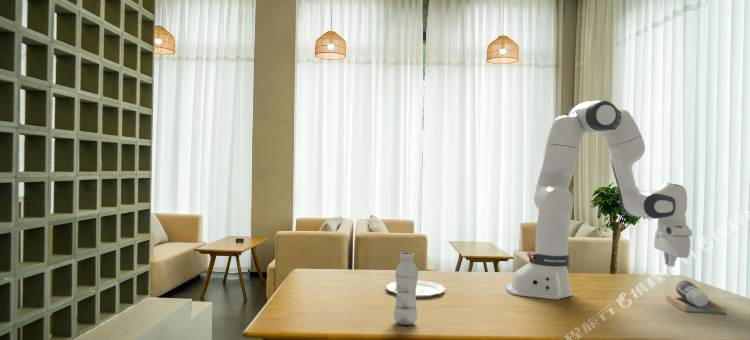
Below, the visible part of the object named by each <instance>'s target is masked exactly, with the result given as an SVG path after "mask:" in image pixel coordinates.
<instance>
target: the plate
mask: <svg viewBox="0 0 750 340" xmlns="http://www.w3.org/2000/svg"><path fill="white" fill-rule="evenodd" d="M385 288H387V291H388V292H391V293H394V294H396V295H397V290H396V291H395V289H397V287H396V281H391V282H390V283H388V284H386V285H385ZM444 291H446V287H444V286H443V285H442V284H440V283H436V282H433V281H426V280H420V279H417V285H416V298H430V297H434V296H436V295H441V294H442V293H444Z"/></svg>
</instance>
